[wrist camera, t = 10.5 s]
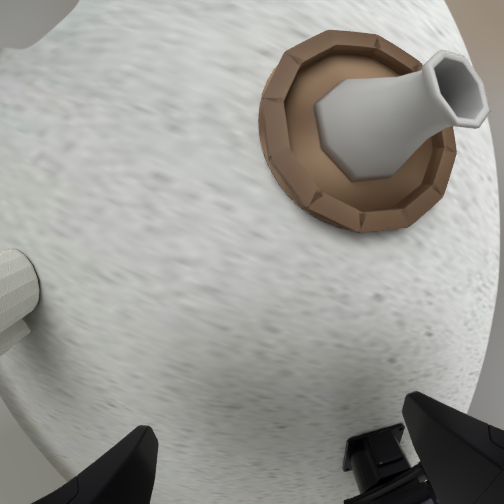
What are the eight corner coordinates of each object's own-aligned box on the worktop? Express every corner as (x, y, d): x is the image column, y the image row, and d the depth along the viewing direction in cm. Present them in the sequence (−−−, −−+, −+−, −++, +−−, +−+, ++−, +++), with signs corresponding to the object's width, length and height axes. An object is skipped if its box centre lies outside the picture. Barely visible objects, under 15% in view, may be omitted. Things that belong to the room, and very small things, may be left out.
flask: (425, 160, 17) (532, 153, 7) (343, 199, 18) (436, 216, 8) (381, 68, 16) (463, 6, 6) (293, 98, 16) (337, 16, 6)
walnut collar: (446, 221, 19) (463, 225, 16) (272, 240, 19) (275, 248, 17) (420, 53, 16) (434, 43, 13) (246, 43, 16) (245, 28, 14)
